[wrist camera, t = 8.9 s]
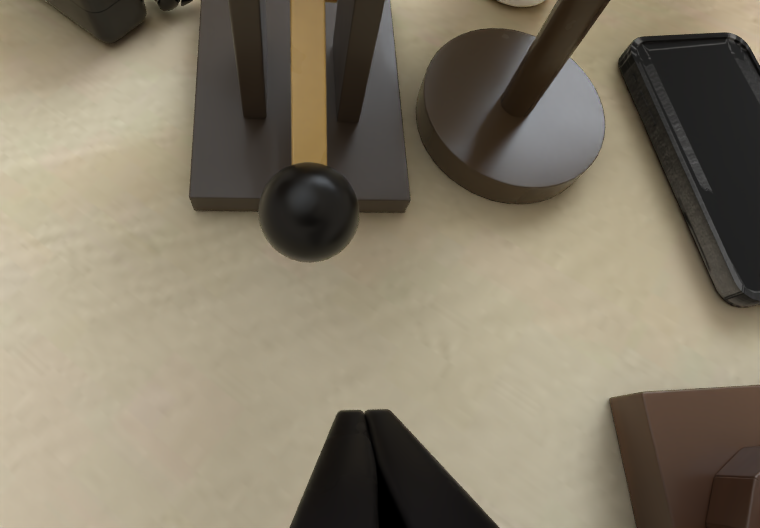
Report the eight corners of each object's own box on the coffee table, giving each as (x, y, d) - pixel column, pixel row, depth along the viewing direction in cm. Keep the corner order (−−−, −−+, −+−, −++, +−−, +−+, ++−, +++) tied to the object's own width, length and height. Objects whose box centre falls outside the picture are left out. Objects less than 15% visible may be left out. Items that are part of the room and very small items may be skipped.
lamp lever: (353, 264, 18) (367, 259, 15) (261, 264, 18) (255, 260, 15) (348, -65, 19) (361, -135, 16) (258, -75, 18) (252, -149, 15)
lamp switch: (404, 212, 23) (480, 55, 14) (193, 210, 21) (125, 31, 12) (384, 6, 27) (434, -219, 18) (206, -9, 26) (162, -264, 16)
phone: (741, 31, 29) (875, 278, 25) (725, 46, 30) (852, 285, 26) (622, 37, 28) (743, 304, 23) (610, 52, 29) (723, 311, 24)
